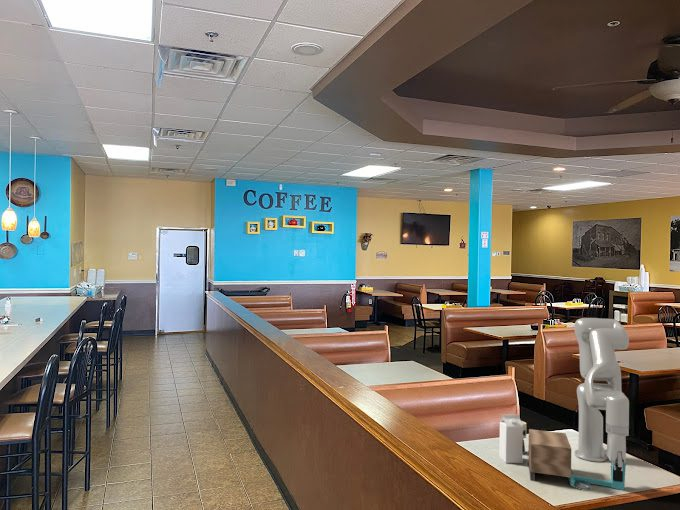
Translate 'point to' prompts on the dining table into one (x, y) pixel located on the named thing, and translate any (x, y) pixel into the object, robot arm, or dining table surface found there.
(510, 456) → the milk carton
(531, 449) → the cabinet
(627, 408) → the robot arm
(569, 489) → the dining table surface
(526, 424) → the character mug
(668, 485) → the dining table surface
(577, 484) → the grey flat disc
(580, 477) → the scraper
